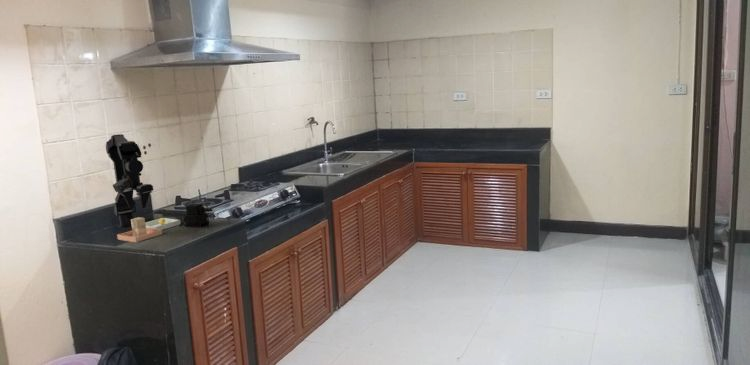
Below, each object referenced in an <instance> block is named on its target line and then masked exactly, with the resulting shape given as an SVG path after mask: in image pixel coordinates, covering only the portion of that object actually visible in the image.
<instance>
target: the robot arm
mask: <svg viewBox="0 0 750 365" xmlns="http://www.w3.org/2000/svg"><path fill="white" fill-rule="evenodd" d="M105 152H106V154H107V155H108V158H109V159H110V160H111V161H112V163H113V169H114V175H115V183H113V184H112V187H113V189H114V191H115V193H117V194H116V196H115V198H114V199H115V203H114V208H113V210H114V215H115V216H116V217H118V218H119V225H117V226H116V227H117V228H125V229H126V228H129V227H132V225H131V219H134V216H133V213H137V202H136V201H135V199H134V191H135V192H136V193H135V194H136V196H138V197H139V202H140V206H141V208H142V209H145V208H146V205H147V204H148V201H149V198H150V195H151V193H152V192H153V191H154V185H153V184H151V183H143V182H141V177H140V176H142V172H143V170H144V169H143V168H144V165H143V162H142V161H140V160H139V158H142V151H141V149H140V147H139V145H138V143H136V142H135V141H133V140H128V139H127V138H126V137H125V135H124V134H122V133H120V134H113V135H111V136H110V139H109V140H107V142H106V143H105Z"/></svg>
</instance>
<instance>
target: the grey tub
mask: <svg viewBox="0 0 750 365" xmlns="http://www.w3.org/2000/svg"><path fill="white" fill-rule="evenodd" d="M161 218H162V217H160V218H157V219H153V220H150V221H145V225H146V228H153V229H161V230H162V231H163V230H166V229H171V228H173V227H176V226H180V225H181V219H176V218H168V217H167V218H166V217H163V218H164V219H165V221H166V222H165V224H163V225H161V224H159V219H161Z"/></svg>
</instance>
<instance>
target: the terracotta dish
mask: <svg viewBox="0 0 750 365" xmlns="http://www.w3.org/2000/svg"><path fill="white" fill-rule="evenodd" d="M146 231H147V234H145V235H142V236H138V237H133V231H132V230H130V231H126V232H122V233H118V234H116V237H117V240H119V241H124V242H131V243H139V242H142V241H145V240H148V239H152V238H156V237H159V236H160V235H161V236H162V235H163V230H161V229H153V228H146Z"/></svg>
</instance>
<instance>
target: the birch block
mask: <svg viewBox="0 0 750 365" xmlns="http://www.w3.org/2000/svg"><path fill="white" fill-rule="evenodd" d="M145 223H146V218H145V217H141V216H140V217H133V219H131V225H132V226H131V231H133V237H138V236H142V235H145V234H147V231H146V225H145Z"/></svg>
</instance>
